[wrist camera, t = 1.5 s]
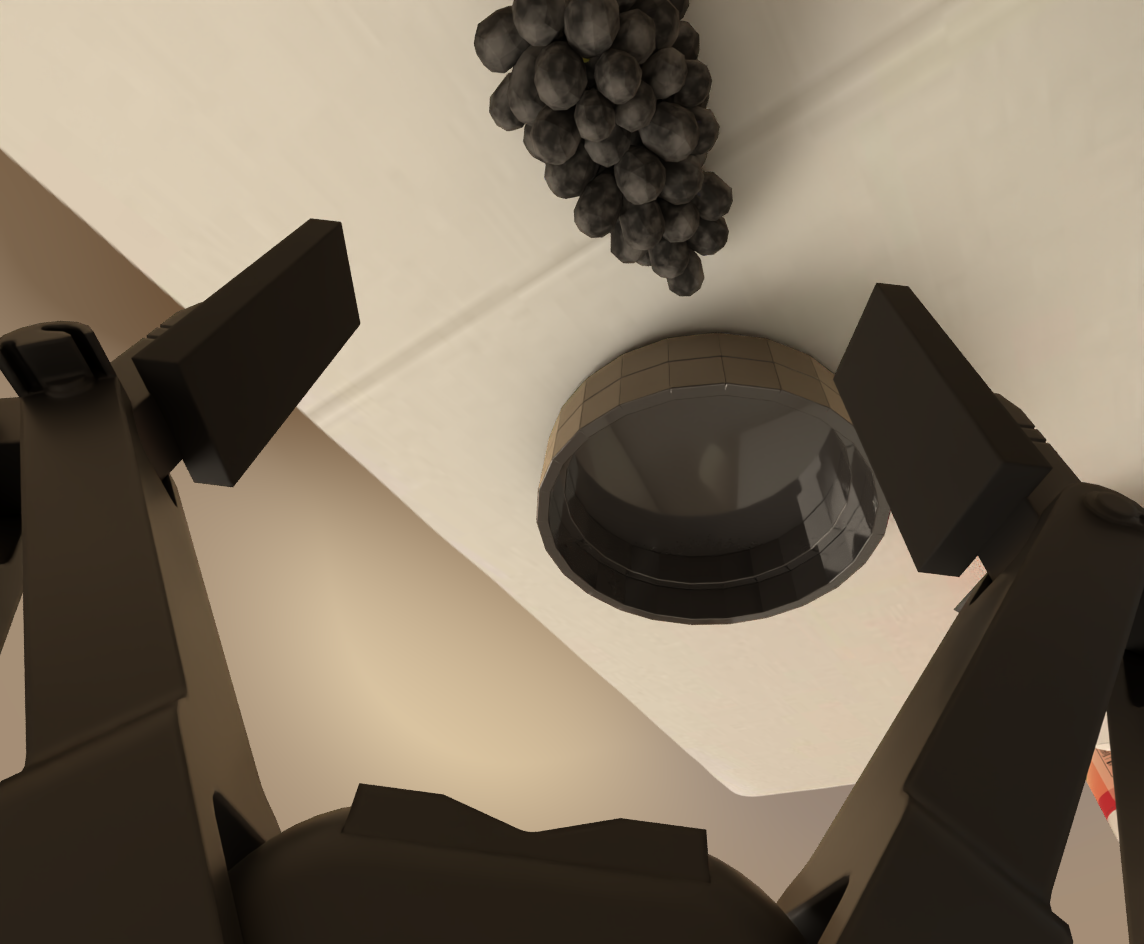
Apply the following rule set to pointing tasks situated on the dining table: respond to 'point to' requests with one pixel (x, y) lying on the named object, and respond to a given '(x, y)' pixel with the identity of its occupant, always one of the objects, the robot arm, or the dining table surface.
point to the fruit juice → (1103, 786)
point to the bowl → (708, 482)
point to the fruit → (616, 123)
